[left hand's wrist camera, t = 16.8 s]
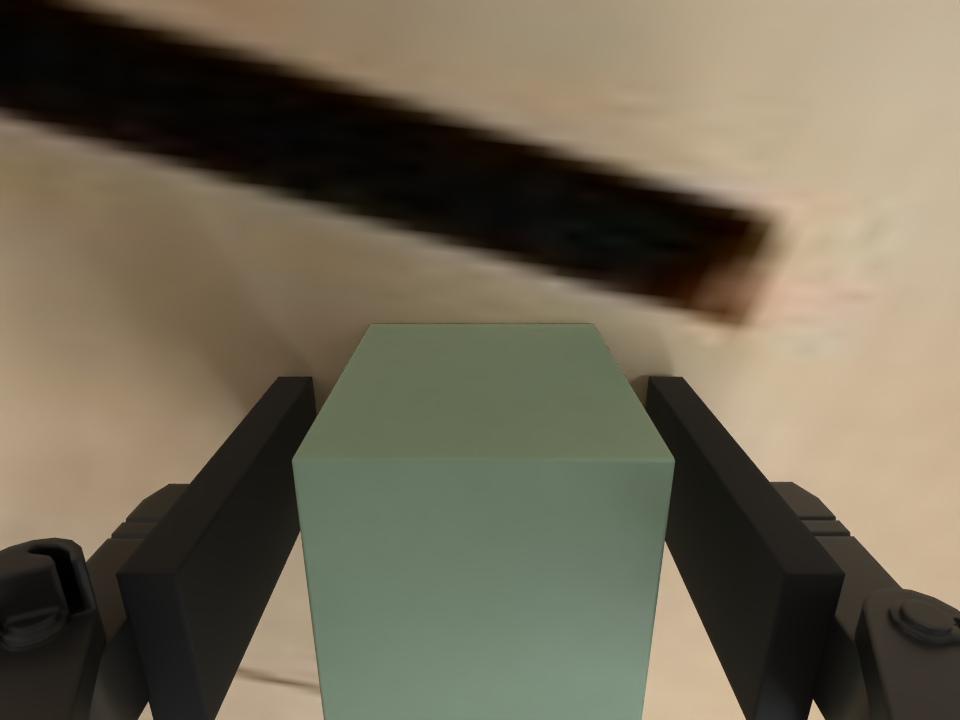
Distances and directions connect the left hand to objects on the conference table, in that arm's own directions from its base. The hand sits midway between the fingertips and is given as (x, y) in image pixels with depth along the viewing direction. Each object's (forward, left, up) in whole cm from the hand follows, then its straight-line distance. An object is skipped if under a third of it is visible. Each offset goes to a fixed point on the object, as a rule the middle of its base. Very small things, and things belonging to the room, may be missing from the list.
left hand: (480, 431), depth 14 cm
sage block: (0, 0, 0) cm, 0 cm away
